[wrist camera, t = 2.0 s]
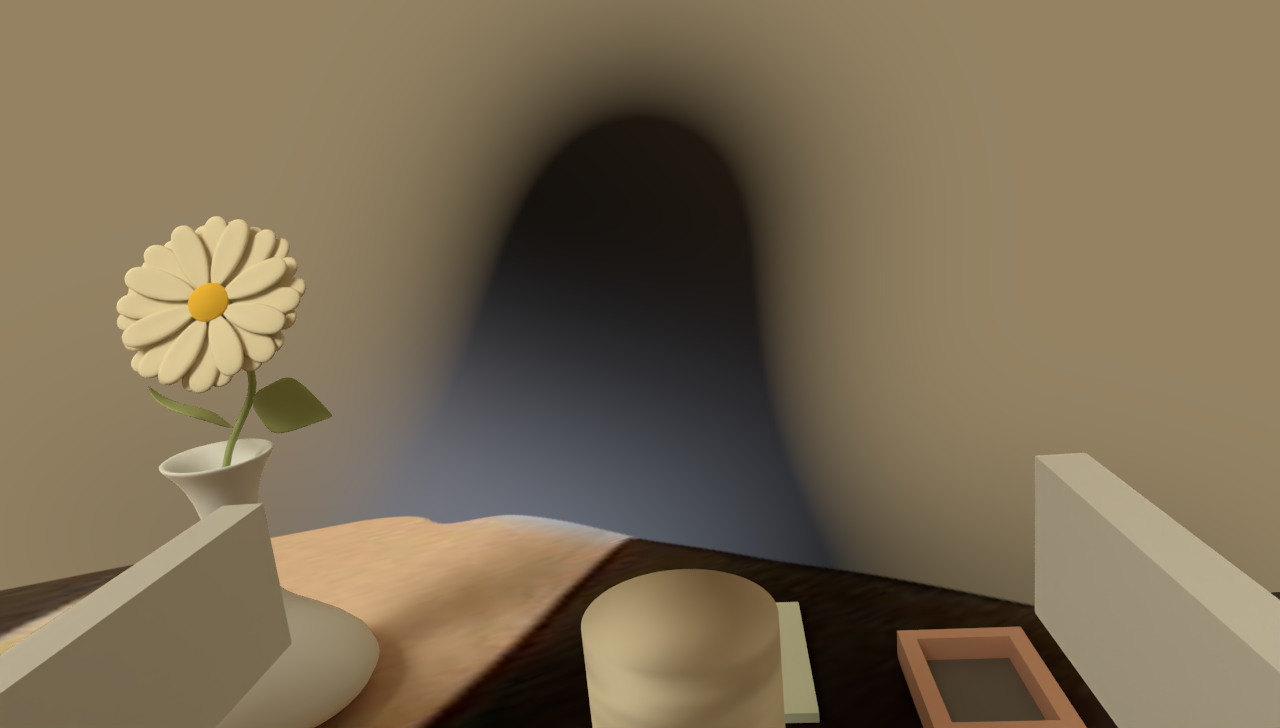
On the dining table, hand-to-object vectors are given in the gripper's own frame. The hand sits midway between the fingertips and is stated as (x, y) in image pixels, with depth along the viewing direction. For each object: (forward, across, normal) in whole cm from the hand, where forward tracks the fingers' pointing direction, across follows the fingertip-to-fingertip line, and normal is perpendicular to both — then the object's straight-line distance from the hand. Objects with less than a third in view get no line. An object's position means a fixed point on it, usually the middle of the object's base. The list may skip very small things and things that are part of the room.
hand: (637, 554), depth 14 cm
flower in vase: (+23, -22, -19) cm, 37 cm away
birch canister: (+10, 0, -19) cm, 21 cm away
